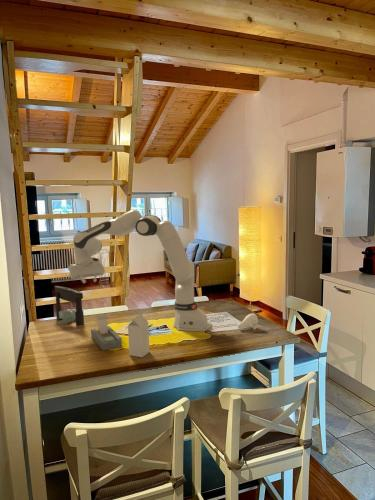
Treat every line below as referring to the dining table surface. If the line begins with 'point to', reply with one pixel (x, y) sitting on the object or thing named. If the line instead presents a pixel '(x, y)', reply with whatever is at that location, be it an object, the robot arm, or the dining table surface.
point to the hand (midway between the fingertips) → (89, 281)
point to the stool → (67, 314)
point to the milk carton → (138, 336)
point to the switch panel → (106, 339)
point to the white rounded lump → (249, 322)
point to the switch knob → (102, 324)
